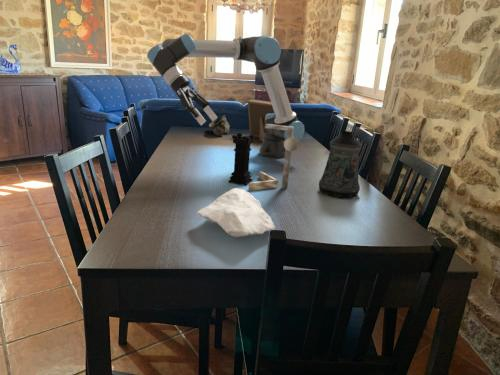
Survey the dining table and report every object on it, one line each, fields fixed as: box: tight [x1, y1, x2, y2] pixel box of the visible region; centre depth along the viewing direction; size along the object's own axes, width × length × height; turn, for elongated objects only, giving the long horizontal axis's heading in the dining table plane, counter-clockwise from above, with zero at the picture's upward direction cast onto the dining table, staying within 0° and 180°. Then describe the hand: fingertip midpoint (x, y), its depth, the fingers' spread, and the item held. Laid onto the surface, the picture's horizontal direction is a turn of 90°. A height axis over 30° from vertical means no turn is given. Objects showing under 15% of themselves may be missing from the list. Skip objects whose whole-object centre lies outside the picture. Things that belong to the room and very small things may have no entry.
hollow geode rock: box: [208, 114, 231, 137], centre depth 254 cm, size 28×13×15 cm
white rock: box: [196, 187, 276, 238], centre depth 114 cm, size 24×35×9 cm
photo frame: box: [247, 98, 275, 142], centre depth 246 cm, size 15×22×25 cm
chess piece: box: [228, 132, 256, 187], centre depth 154 cm, size 8×8×20 cm
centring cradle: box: [248, 124, 299, 192], centre depth 152 cm, size 19×17×26 cm
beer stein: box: [318, 130, 362, 200], centre depth 150 cm, size 16×19×25 cm
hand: (209, 121), depth 153 cm, fingers open, 13 cm apart
